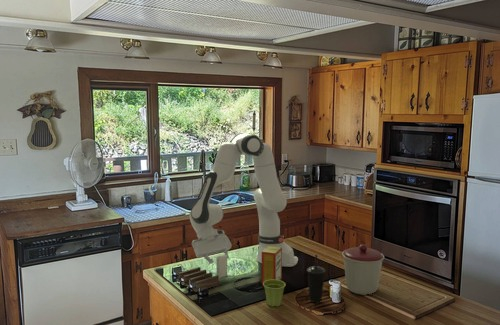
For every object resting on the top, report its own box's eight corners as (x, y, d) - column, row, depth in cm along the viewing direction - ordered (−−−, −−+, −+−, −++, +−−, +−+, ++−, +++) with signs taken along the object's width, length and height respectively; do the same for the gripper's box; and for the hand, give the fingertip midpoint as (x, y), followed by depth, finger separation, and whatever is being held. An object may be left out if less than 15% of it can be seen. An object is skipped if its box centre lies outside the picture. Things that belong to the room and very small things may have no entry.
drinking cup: (324, 297, 179) (324, 252, 177) (325, 305, 171) (326, 258, 169) (306, 296, 180) (306, 251, 177) (306, 304, 172) (307, 257, 170)
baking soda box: (274, 286, 190) (275, 252, 188) (261, 284, 193) (261, 250, 191) (281, 279, 199) (281, 246, 197) (268, 276, 202) (268, 245, 200)
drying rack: (176, 282, 195) (176, 273, 194) (200, 274, 204) (200, 266, 204) (195, 293, 183) (195, 283, 183) (220, 284, 192) (220, 275, 192)
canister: (354, 301, 175) (355, 253, 172) (334, 284, 192) (335, 240, 190) (391, 296, 180) (393, 249, 177) (368, 280, 197) (370, 237, 195)
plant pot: (271, 296, 180) (271, 277, 179) (289, 302, 174) (290, 283, 173) (258, 304, 172) (258, 284, 171) (276, 311, 166) (276, 290, 165)
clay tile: (216, 276, 202) (216, 256, 201) (224, 274, 205) (224, 254, 204) (219, 278, 200) (218, 258, 199) (227, 275, 204) (227, 255, 203)
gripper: (192, 237, 201) (204, 262, 194) (226, 229, 214) (238, 252, 208) (187, 244, 204) (199, 268, 198) (220, 236, 218) (232, 259, 212)
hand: (219, 260), depth 203 cm, fingers open, 8 cm apart
